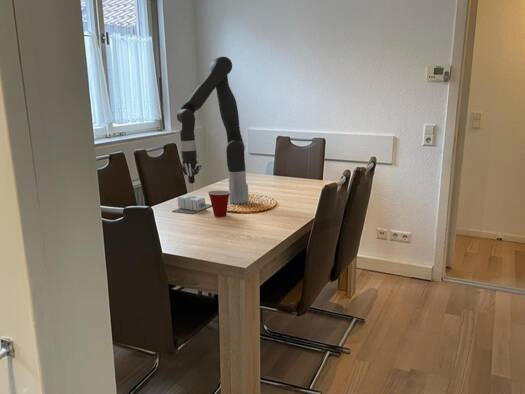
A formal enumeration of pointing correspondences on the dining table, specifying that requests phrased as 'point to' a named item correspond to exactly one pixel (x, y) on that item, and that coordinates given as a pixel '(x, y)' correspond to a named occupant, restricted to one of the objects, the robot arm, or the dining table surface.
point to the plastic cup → (219, 202)
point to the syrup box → (191, 202)
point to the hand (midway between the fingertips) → (191, 183)
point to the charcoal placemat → (188, 211)
